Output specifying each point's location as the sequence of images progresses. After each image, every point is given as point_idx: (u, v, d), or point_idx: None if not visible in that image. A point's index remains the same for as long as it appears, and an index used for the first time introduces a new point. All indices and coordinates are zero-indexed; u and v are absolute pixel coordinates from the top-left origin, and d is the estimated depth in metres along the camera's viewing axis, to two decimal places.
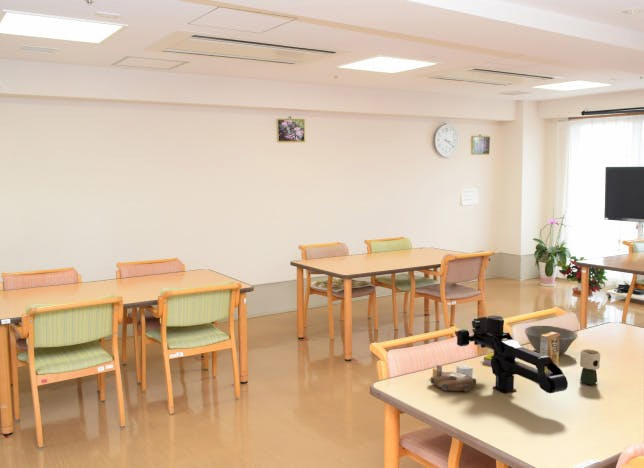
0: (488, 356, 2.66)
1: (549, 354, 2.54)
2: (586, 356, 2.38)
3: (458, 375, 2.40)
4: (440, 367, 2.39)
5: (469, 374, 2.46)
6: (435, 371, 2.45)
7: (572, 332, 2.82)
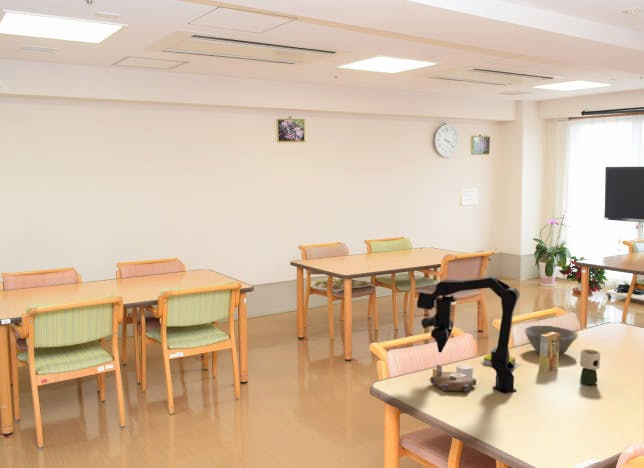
0: (488, 357, 2.65)
1: (549, 354, 2.54)
2: (586, 356, 2.38)
3: (458, 375, 2.40)
4: (440, 367, 2.39)
5: (469, 374, 2.46)
6: (435, 371, 2.45)
7: (572, 332, 2.82)
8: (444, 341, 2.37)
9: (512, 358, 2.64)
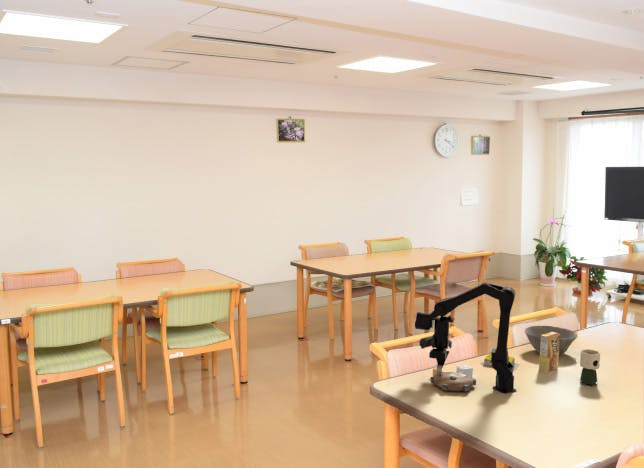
0: (488, 357, 2.64)
1: (549, 354, 2.54)
2: (586, 356, 2.38)
3: (458, 375, 2.40)
4: (440, 367, 2.39)
5: (469, 374, 2.46)
6: (435, 371, 2.45)
7: (572, 332, 2.82)
8: (444, 359, 2.39)
9: (512, 358, 2.64)
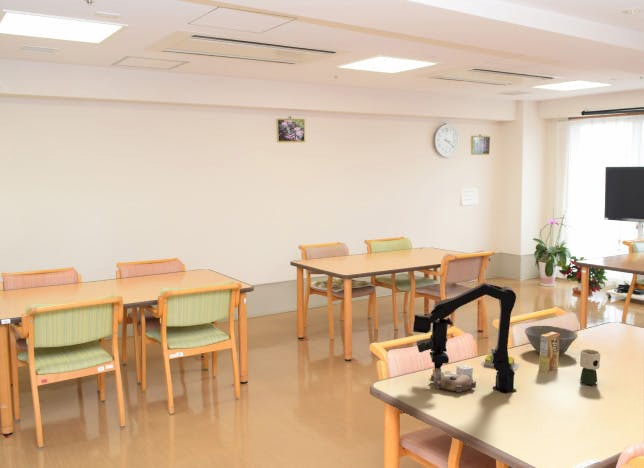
0: (488, 358, 2.63)
1: (549, 354, 2.54)
2: (586, 356, 2.38)
3: (451, 374, 2.41)
4: (440, 370, 2.35)
5: (469, 374, 2.46)
6: None
7: (572, 332, 2.82)
8: None
9: (512, 358, 2.64)
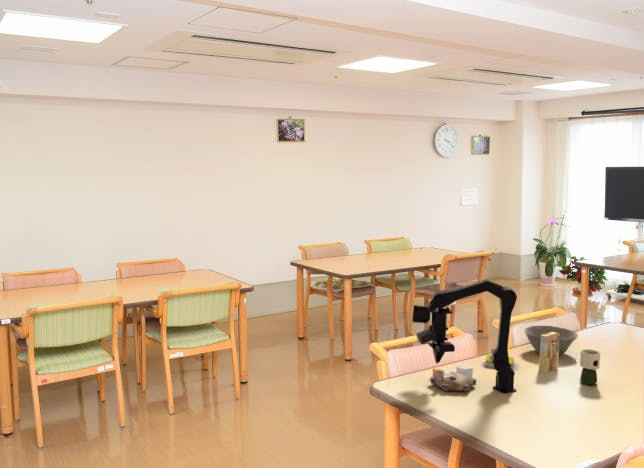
0: (489, 358, 2.63)
1: (549, 354, 2.54)
2: (586, 356, 2.38)
3: (446, 374, 2.41)
4: (443, 372, 2.33)
5: (469, 374, 2.46)
6: (435, 371, 2.45)
7: (572, 332, 2.82)
8: None
9: (511, 358, 2.64)
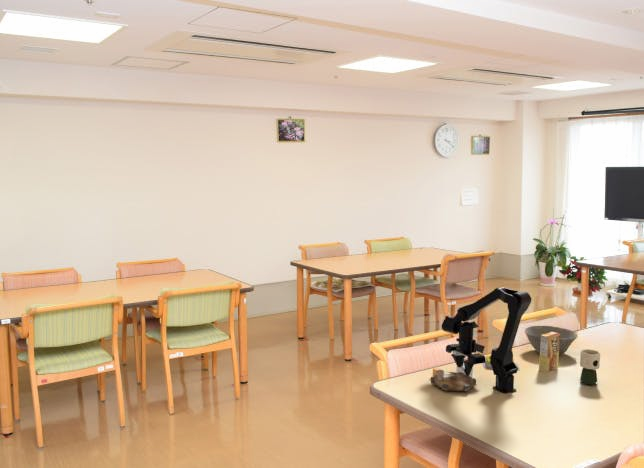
0: None
1: (549, 354, 2.54)
2: (586, 356, 2.38)
3: (446, 374, 2.41)
4: (443, 372, 2.33)
5: None
6: (435, 371, 2.45)
7: (572, 332, 2.82)
8: None
9: None
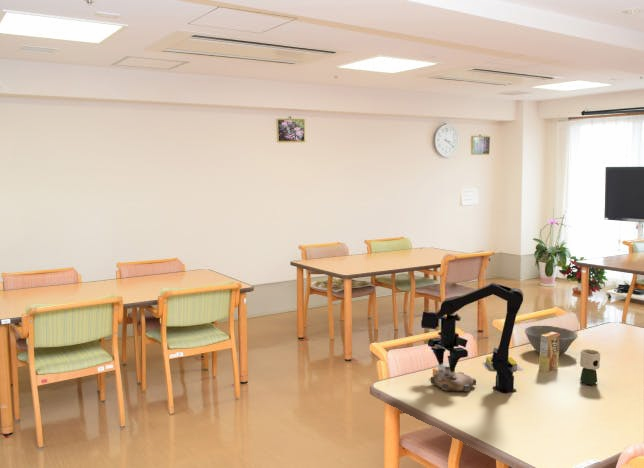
0: None
1: (549, 354, 2.54)
2: (586, 356, 2.38)
3: None
4: (443, 372, 2.33)
5: (451, 372, 2.39)
6: (435, 371, 2.45)
7: (572, 332, 2.82)
8: None
9: (511, 358, 2.63)
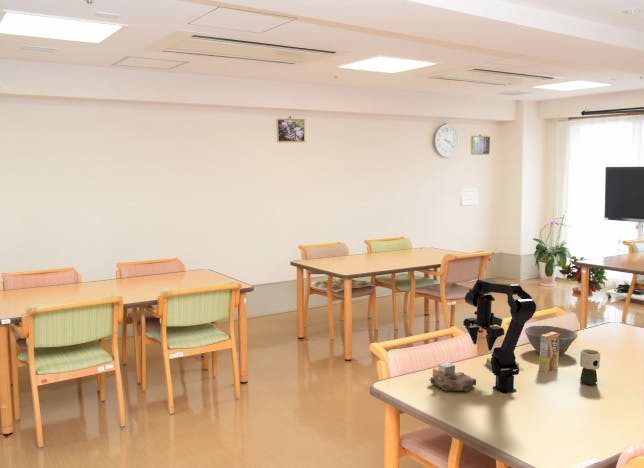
0: None
1: (549, 354, 2.54)
2: (586, 356, 2.38)
3: None
4: (443, 372, 2.33)
5: (451, 372, 2.39)
6: (435, 371, 2.45)
7: (572, 332, 2.82)
8: None
9: None
